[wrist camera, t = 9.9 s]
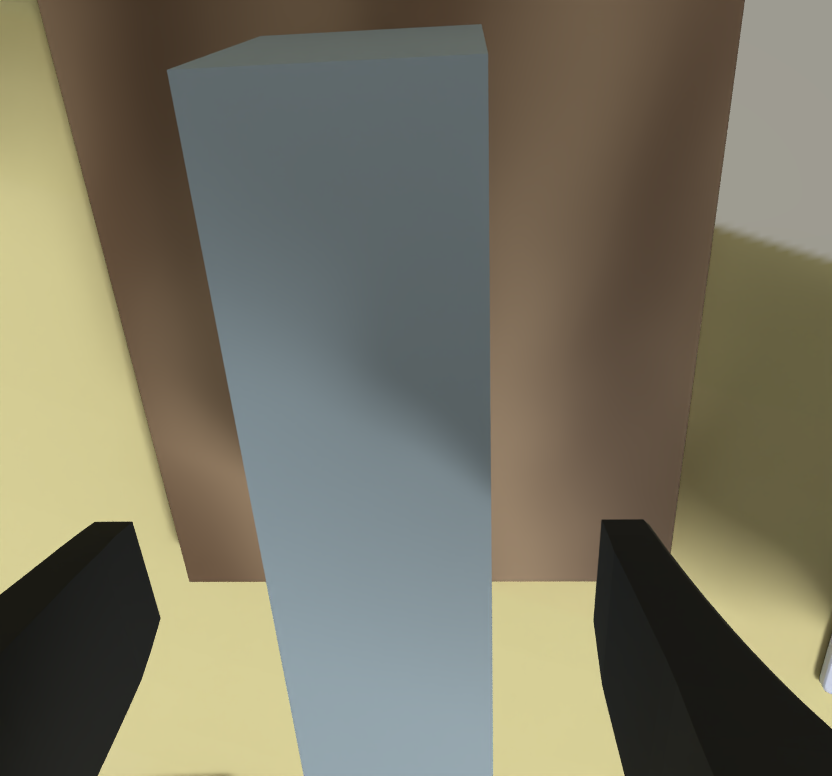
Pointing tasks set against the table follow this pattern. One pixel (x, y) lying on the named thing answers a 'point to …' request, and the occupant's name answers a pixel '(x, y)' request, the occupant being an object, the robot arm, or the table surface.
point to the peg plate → (508, 249)
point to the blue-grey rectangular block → (359, 373)
